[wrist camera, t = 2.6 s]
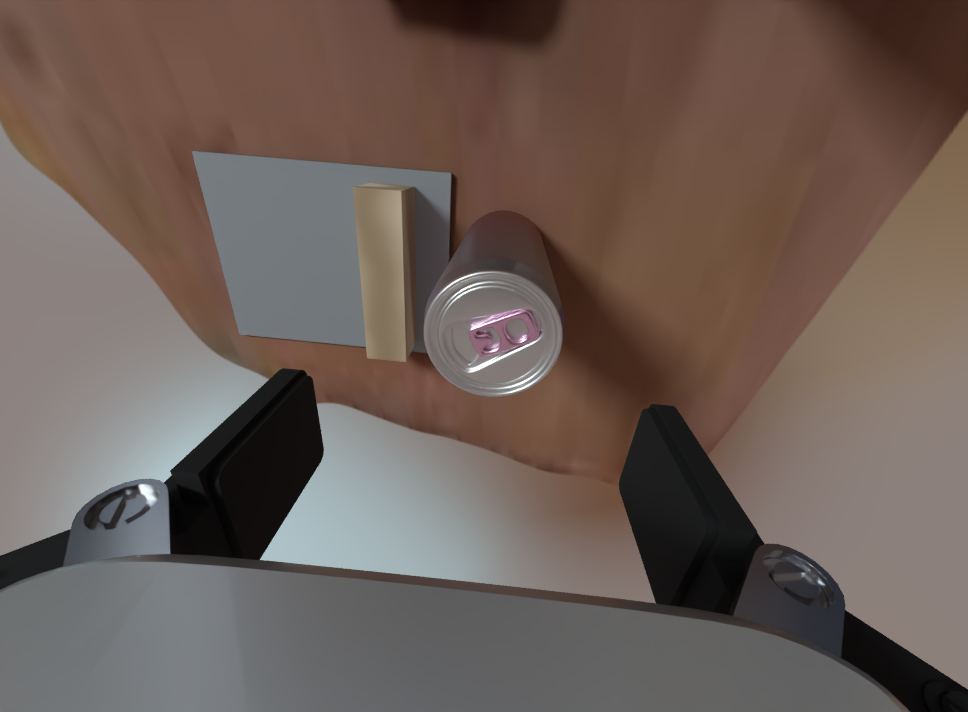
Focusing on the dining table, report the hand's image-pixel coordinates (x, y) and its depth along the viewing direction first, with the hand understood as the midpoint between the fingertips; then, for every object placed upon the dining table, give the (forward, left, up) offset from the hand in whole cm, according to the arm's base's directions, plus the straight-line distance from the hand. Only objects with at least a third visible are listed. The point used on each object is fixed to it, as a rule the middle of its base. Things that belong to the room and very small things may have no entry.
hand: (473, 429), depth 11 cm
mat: (+13, +2, -20) cm, 24 cm away
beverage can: (0, 0, -20) cm, 20 cm away
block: (+8, +2, -20) cm, 21 cm away
